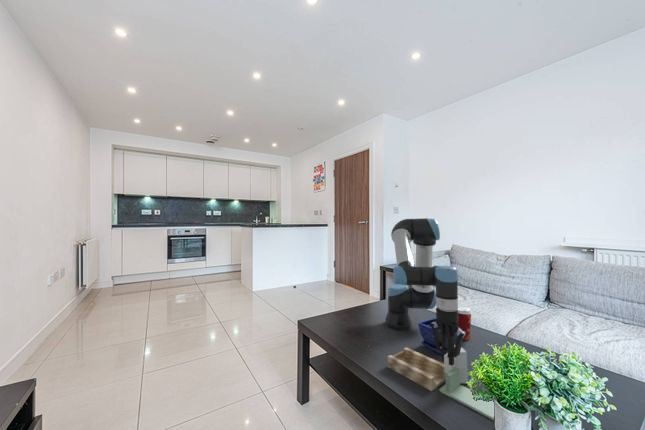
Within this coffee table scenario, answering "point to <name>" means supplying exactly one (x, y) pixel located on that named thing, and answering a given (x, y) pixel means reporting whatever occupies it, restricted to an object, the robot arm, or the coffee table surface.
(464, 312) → the coffee cup
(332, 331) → the coffee table surface
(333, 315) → the coffee table surface
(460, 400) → the lid
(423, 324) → the flower pot
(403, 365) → the oak box
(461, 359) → the skincare box
